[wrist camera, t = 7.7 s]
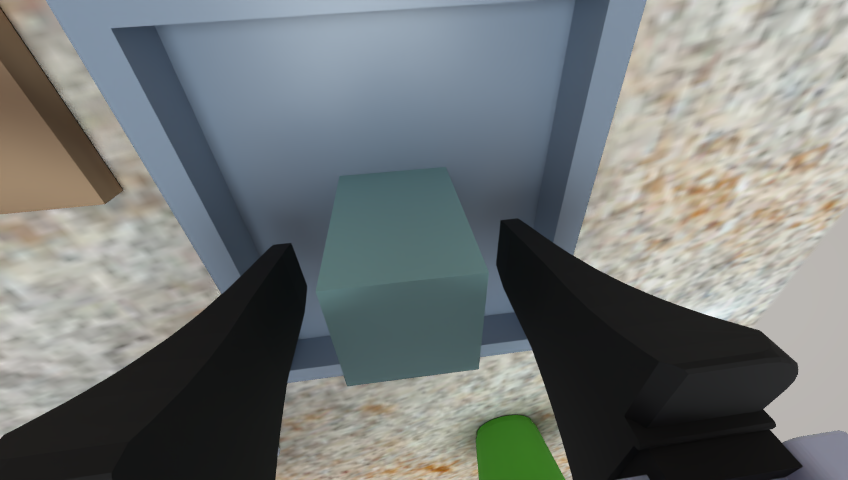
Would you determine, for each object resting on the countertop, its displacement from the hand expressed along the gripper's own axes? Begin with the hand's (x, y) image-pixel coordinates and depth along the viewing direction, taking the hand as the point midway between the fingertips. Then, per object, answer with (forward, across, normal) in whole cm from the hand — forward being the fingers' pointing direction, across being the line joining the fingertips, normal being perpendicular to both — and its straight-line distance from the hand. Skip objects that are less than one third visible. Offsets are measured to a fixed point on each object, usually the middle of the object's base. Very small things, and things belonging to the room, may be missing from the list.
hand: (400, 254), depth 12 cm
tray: (+3, 0, 0) cm, 3 cm away
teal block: (+2, 0, 0) cm, 2 cm away
